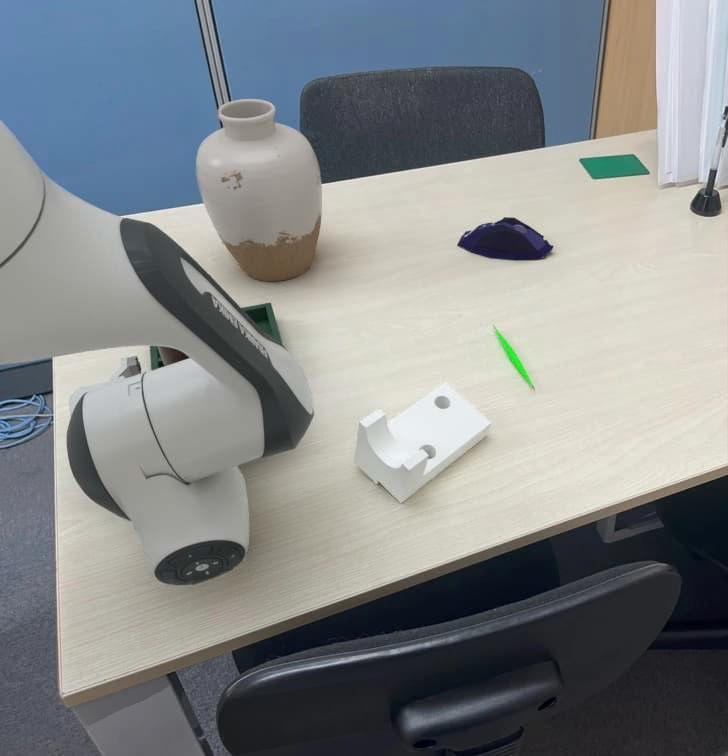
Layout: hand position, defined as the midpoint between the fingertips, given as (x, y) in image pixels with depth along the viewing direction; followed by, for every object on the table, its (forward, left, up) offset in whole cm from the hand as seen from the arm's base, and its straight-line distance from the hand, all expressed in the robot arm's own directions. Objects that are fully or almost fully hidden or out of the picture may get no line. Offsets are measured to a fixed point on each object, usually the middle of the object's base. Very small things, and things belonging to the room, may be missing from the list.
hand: (177, 352), depth 78 cm
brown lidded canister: (0, +1, -6) cm, 6 cm away
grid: (+4, +5, -7) cm, 9 cm away
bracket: (+23, -18, -7) cm, 30 cm away
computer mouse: (+48, +20, -7) cm, 52 cm away
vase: (+14, +26, -7) cm, 30 cm away
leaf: (+38, -6, -7) cm, 39 cm away
